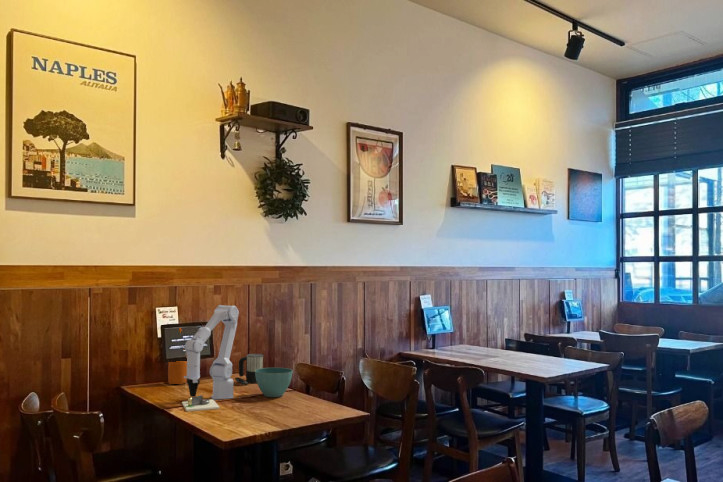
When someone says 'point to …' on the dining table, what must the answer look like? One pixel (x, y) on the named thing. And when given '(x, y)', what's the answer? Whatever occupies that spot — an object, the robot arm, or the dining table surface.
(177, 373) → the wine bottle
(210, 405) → the tuner plate
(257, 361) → the milk frother
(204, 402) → the tuner dial
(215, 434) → the dining table surface
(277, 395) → the plant pot
